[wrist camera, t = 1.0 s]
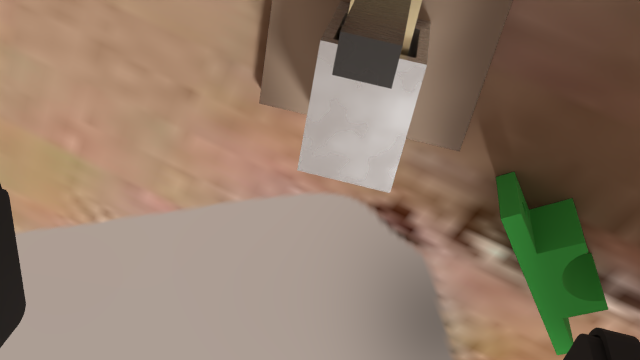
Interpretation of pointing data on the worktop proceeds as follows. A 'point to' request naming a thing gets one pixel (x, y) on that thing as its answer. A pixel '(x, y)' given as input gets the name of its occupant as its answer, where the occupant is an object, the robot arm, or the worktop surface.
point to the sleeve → (360, 114)
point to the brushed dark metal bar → (375, 40)
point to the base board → (440, 75)
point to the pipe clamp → (551, 259)
